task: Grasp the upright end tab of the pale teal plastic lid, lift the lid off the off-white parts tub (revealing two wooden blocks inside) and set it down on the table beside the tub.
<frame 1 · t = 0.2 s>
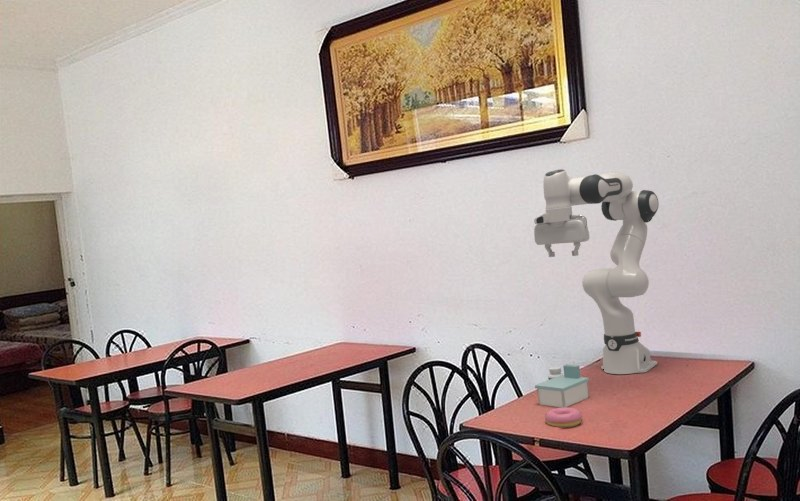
hand: (563, 256, 246), 47 cm above the table, fingers open, 8 cm apart
tub: (564, 402, 234), on the table
lid: (562, 384, 234), point 6 cm above the table, touching tub
block a: (569, 398, 236), point 1 cm above the table, touching tub
pill bottle: (557, 393, 247), on the table
block b: (558, 402, 232), point 1 cm above the table, touching tub
doughnut: (564, 424, 212), on the table
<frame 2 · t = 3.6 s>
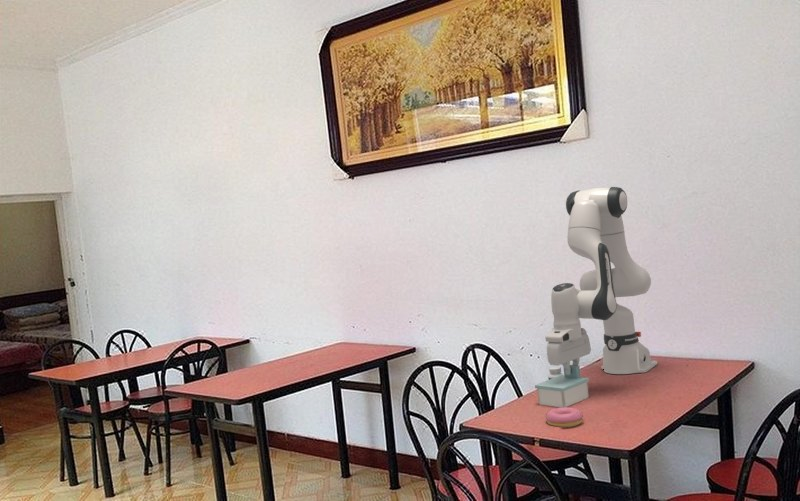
hand: (572, 373, 238), 8 cm above the table, fingers closed on lid
lid: (562, 384, 234), point 6 cm above the table, touching gripper, tub
everything else where it was.
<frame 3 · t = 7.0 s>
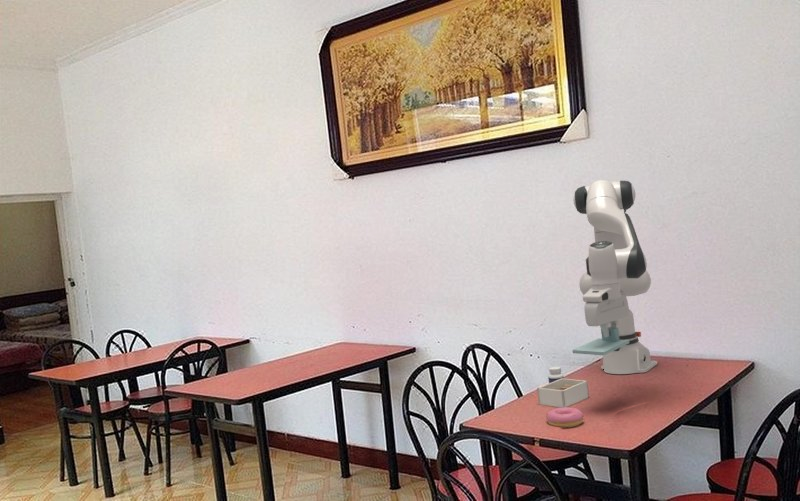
hand: (610, 335, 226), 22 cm above the table, fingers closed on lid, 2 cm apart
lid: (601, 348, 222), point 19 cm above the table, touching gripper
everything else where it was.
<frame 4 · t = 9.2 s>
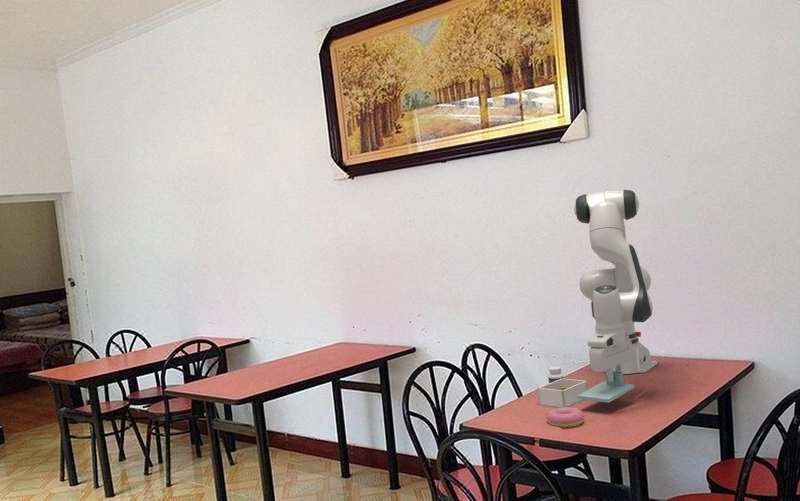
hand: (614, 379, 226), 8 cm above the table, fingers closed on lid, 2 cm apart
lid: (606, 393, 222), point 5 cm above the table, touching gripper
everything else where it was.
when the fingers open (5 cm above the table, at t = 10.6 s): lid drops 2 cm, on the table.
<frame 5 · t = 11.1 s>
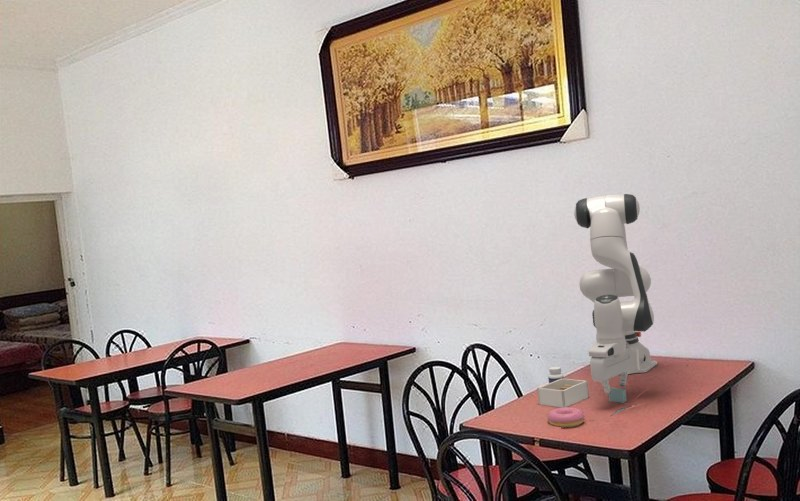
hand: (615, 389, 226), 5 cm above the table, fingers open, 8 cm apart
lid: (608, 409, 223), on the table
everything else where it was.
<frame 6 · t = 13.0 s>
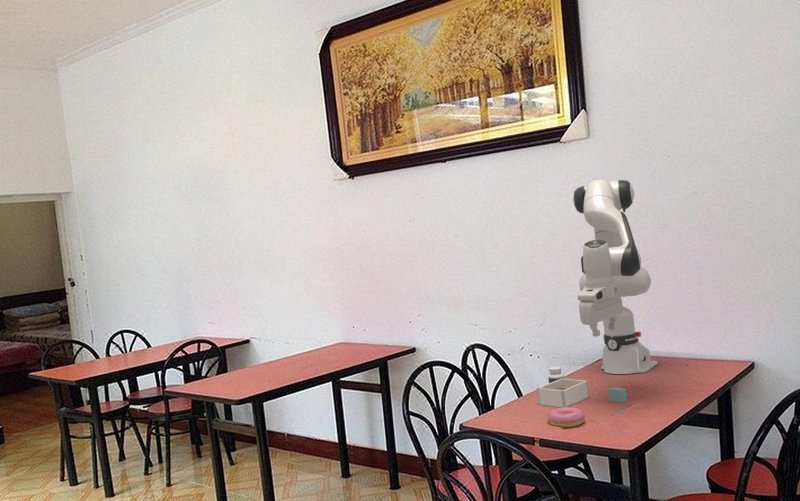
hand: (604, 332, 229), 22 cm above the table, fingers open, 8 cm apart
nothing on the table moved.
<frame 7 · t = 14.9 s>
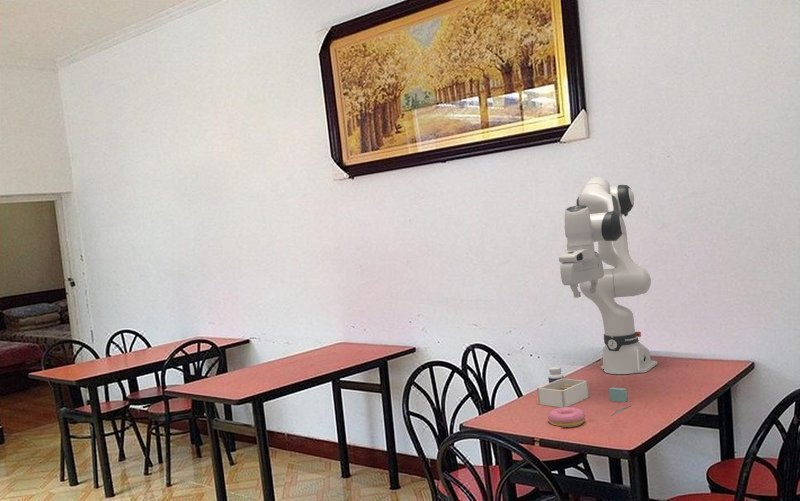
hand: (585, 295, 237), 34 cm above the table, fingers open, 8 cm apart
nothing on the table moved.
at the end: lid inside the target area (1.1 cm from its centre), on the table; lid touching table; lid tilted 0° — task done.
